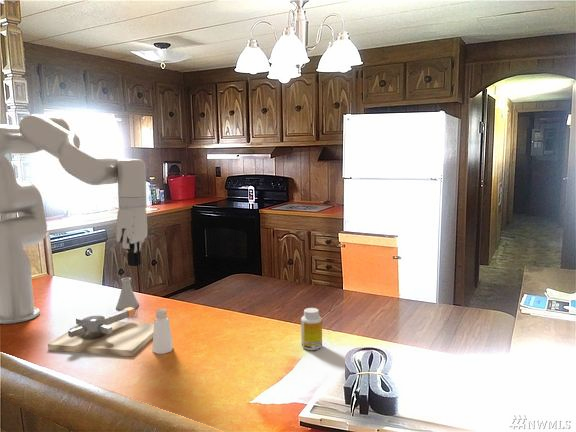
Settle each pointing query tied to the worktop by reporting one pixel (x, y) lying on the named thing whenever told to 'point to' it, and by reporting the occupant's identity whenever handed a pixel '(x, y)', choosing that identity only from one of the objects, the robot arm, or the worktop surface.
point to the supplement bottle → (311, 329)
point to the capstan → (99, 324)
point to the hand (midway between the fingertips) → (134, 265)
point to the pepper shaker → (162, 333)
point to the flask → (126, 296)
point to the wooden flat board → (108, 340)
